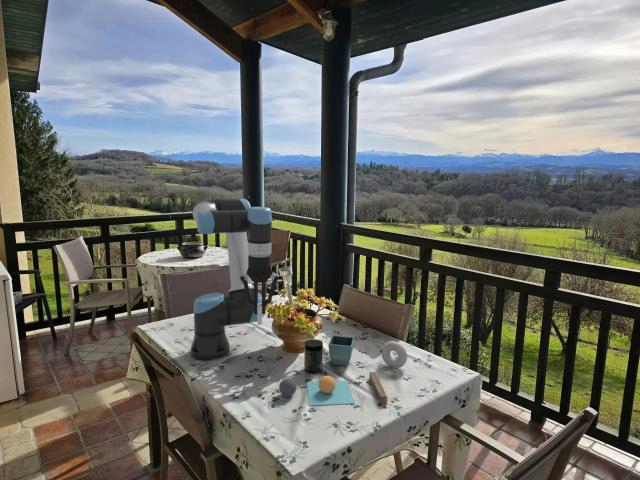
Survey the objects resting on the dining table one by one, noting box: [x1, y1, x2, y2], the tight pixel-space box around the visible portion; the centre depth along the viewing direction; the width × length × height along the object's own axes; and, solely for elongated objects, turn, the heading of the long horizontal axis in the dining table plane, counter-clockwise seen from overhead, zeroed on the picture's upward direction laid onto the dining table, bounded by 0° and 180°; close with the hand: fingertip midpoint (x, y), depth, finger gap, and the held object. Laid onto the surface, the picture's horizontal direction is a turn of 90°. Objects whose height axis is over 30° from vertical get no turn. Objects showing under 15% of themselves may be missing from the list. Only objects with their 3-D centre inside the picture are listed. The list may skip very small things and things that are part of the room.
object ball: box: [318, 375, 336, 394], centre depth 126 cm, size 6×6×6 cm
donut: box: [381, 340, 408, 369], centre depth 144 cm, size 10×4×10 cm, turn 55°
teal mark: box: [306, 380, 356, 407], centre depth 127 cm, size 14×14×1 cm
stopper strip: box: [369, 371, 388, 405], centre depth 128 cm, size 2×16×2 cm, turn 5°
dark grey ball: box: [278, 377, 297, 397], centre depth 125 cm, size 6×6×6 cm
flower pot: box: [328, 334, 355, 367], centre depth 147 cm, size 9×9×9 cm
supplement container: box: [303, 339, 324, 375], centre depth 141 cm, size 7×7×10 cm
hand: (259, 323), depth 131 cm, fingers closed
